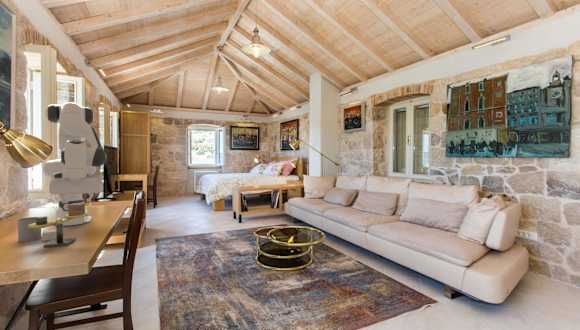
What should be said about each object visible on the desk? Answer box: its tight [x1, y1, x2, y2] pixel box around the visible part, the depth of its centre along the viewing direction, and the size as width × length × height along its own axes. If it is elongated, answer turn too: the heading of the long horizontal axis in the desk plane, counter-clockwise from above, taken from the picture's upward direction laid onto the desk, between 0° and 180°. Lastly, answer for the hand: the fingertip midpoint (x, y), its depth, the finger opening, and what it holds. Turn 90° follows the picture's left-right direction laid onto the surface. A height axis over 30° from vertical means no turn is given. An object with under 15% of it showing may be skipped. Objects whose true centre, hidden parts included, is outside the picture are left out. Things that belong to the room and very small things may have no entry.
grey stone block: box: [41, 228, 57, 242], centre depth 138 cm, size 5×5×4 cm
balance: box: [28, 212, 90, 249], centre depth 130 cm, size 9×22×14 cm, turn 110°
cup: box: [17, 216, 42, 242], centre depth 138 cm, size 8×8×10 cm
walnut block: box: [68, 202, 86, 216], centre depth 132 cm, size 5×5×5 cm
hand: (76, 203), depth 133 cm, fingers open, 8 cm apart
